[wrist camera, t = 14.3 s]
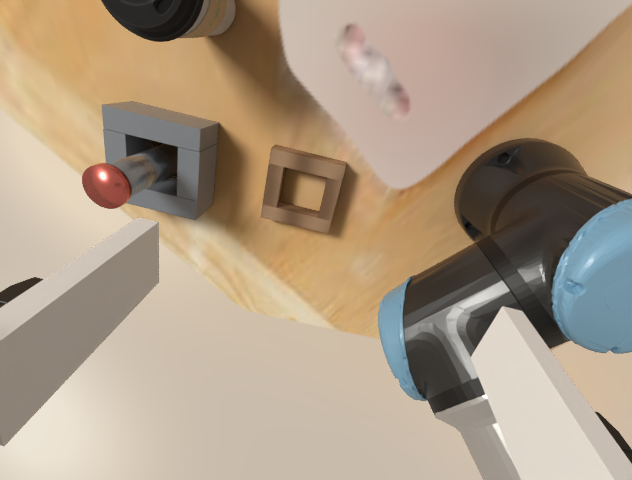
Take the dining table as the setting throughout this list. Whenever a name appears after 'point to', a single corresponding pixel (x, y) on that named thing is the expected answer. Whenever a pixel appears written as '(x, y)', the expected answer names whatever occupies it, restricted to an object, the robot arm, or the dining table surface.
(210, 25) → the coffee cup
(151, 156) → the lock pin
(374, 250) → the dining table surface
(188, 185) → the block
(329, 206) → the mount collar
